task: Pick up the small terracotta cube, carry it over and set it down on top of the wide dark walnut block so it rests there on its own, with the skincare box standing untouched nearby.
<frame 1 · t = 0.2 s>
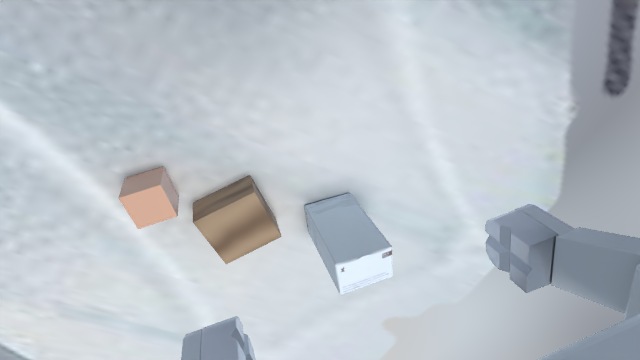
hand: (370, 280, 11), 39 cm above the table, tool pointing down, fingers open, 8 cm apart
terracotta cube: (153, 187, 49), on the table
walnut block: (236, 209, 54), on the table
skincare box: (329, 210, 60), on the table
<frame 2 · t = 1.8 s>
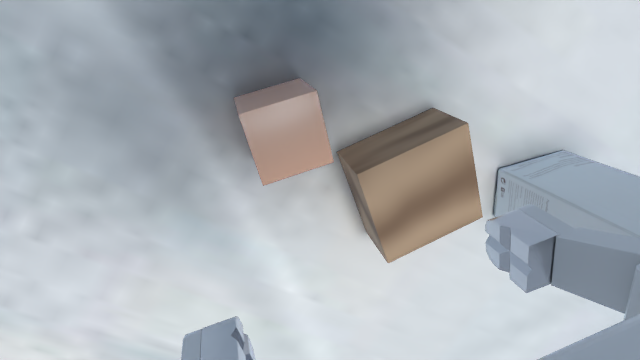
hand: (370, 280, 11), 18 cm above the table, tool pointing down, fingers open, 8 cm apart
terracotta cube: (276, 119, 27), on the table
walnut block: (396, 172, 32), on the table
skincare box: (528, 180, 37), on the table
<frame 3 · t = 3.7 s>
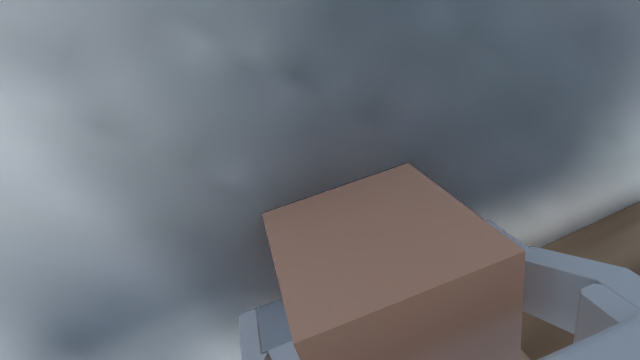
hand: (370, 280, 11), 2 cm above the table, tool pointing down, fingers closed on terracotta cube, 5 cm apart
terracotta cube: (351, 248, 13), on the table, touching gripper
walnut block: (548, 307, 18), on the table
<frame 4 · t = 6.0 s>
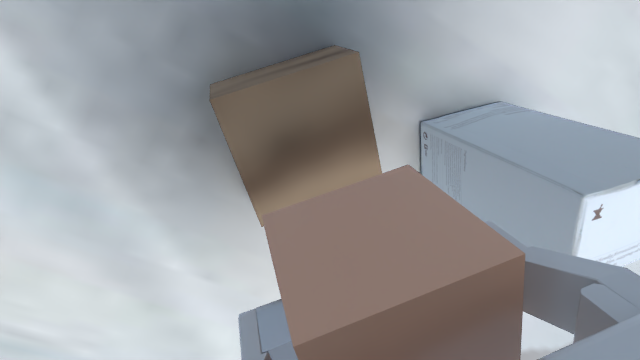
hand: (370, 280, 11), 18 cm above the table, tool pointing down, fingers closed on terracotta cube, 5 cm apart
terracotta cube: (351, 249, 13), point 16 cm above the table, touching gripper
walnut block: (291, 123, 27), on the table
skincare box: (460, 138, 31), on the table
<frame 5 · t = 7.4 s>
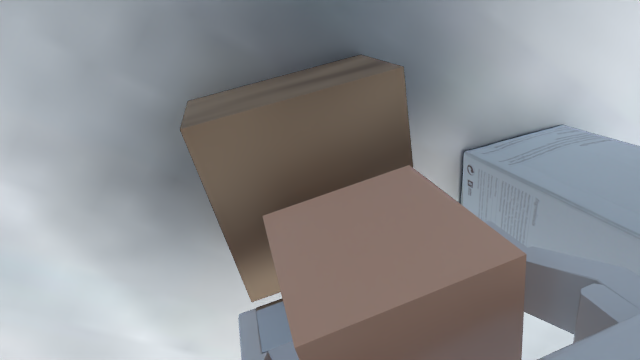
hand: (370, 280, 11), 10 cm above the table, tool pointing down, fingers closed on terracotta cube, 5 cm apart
terracotta cube: (352, 250, 13), point 9 cm above the table, touching gripper
walnut block: (297, 155, 20), on the table
skincare box: (510, 170, 25), on the table
when the fingers open (8 cm above the table, at t = 8.3 s): terracotta cube drops 1 cm, point 5 cm above the table.
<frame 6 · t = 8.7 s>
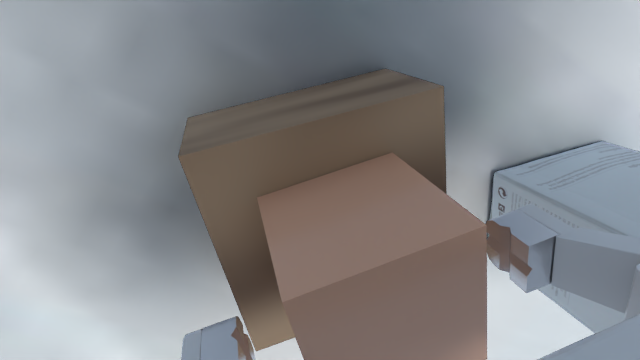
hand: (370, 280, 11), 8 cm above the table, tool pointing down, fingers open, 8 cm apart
terracotta cube: (340, 231, 14), point 5 cm above the table
walnut block: (309, 179, 18), on the table
skincare box: (543, 191, 22), on the table
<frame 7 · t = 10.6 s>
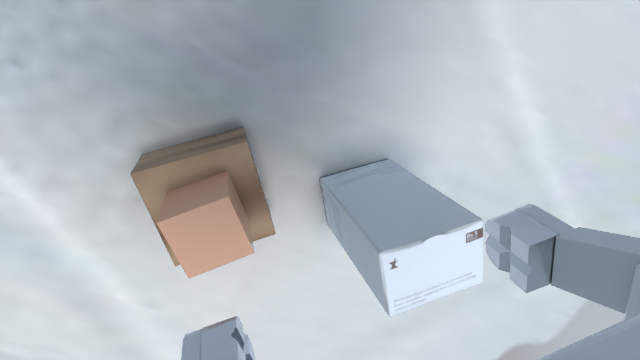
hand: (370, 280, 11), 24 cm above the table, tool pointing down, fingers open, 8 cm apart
terracotta cube: (209, 207, 30), point 5 cm above the table
walnut block: (210, 183, 34), on the table
skincare box: (359, 188, 38), on the table
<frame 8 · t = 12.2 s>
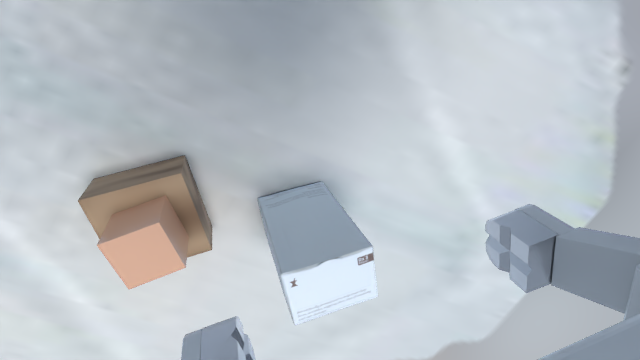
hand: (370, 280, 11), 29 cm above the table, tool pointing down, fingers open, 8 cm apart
terracotta cube: (152, 225, 34), point 5 cm above the table, touching walnut block
walnut block: (157, 203, 39), on the table, touching terracotta cube
skincare box: (295, 206, 43), on the table
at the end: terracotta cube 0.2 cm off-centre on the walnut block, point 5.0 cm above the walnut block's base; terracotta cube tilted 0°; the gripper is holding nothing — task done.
